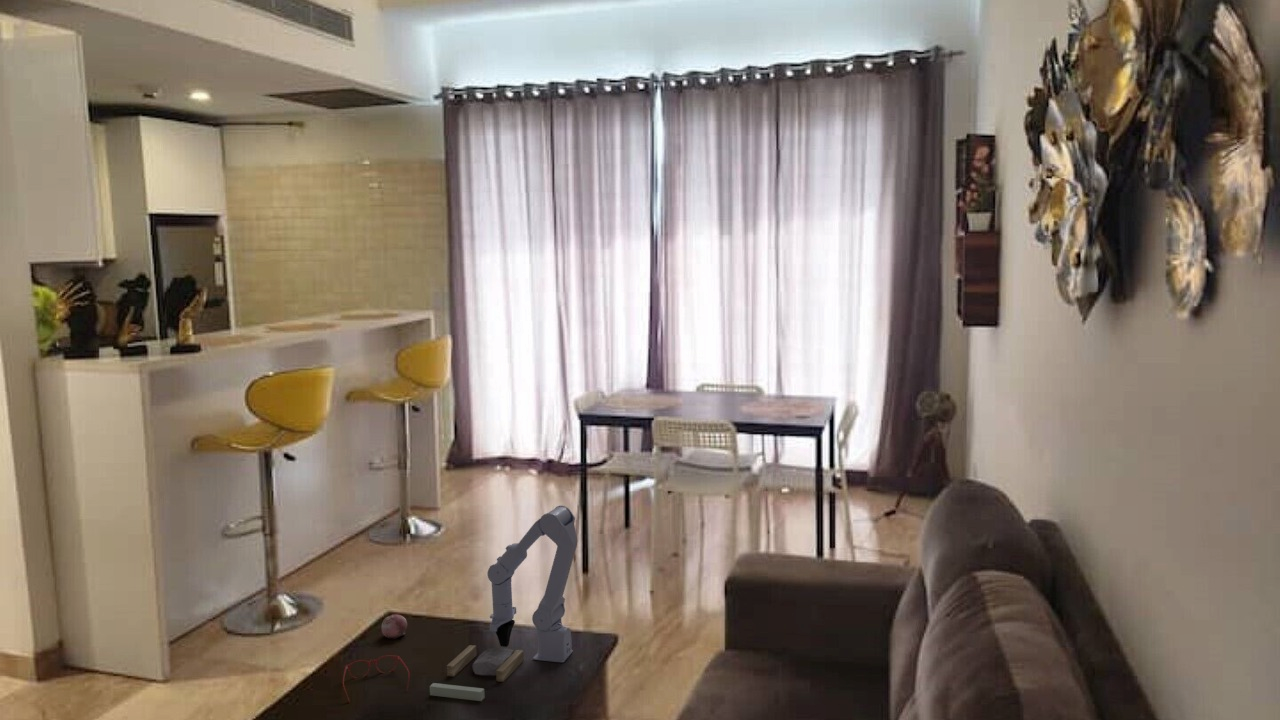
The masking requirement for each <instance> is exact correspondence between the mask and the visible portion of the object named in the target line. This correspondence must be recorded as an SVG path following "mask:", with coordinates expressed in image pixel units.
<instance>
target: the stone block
mask: <svg viewBox="0 0 1280 720" xmlns="http://www.w3.org/2000/svg"><path fill="white" fill-rule="evenodd" d="M514 652H515V650H514V649H509V648H506V647H494V648H489V649H486V650H483V651H482V653H481V654H479V655H478V657H477V658H476V659H475V661H474V662H473V663H472V671H473V673H474V675H479V676H495V677H496V670H497V669H498V668H499V667H500V666H501V665H502V664H503V663H504V662H505V661H506V660H507V659H508V658H509V657H510V656H511V655H512V654H513V653H514Z"/></svg>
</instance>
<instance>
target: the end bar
mask: <svg viewBox="0 0 1280 720" xmlns="http://www.w3.org/2000/svg"><path fill="white" fill-rule="evenodd" d="M429 695H430V696H433V697H435V696H436V697H444V698H451V699H458V700H459V699H461V700H467V701H477V702H482V701H483V700H484V699H485V698H486V697H485V688H481V687H474V686H465V685H464V686H463V685H455V684H445V683H438V682H437V683H436V682H432V684H430V685H429Z"/></svg>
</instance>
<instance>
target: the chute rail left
mask: <svg viewBox="0 0 1280 720" xmlns="http://www.w3.org/2000/svg"><path fill="white" fill-rule="evenodd" d="M477 654H478V653H477V645H472V644H470V645H468V646H467V647H466V648H465V649H463V650H462V652H460V653H459V654H458V655H457V656H456V657H454V658H453V660H451V661H450V662H448V664H447V665H446V673H447V675H446V676H447V677H455V676H456V675H457V674H458V673H460V672H461V670H463V668H465V667H466V666H467V665H468V664H469V663H470V662H471V661H472V660H473V659H474V658H475V657H477Z"/></svg>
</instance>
